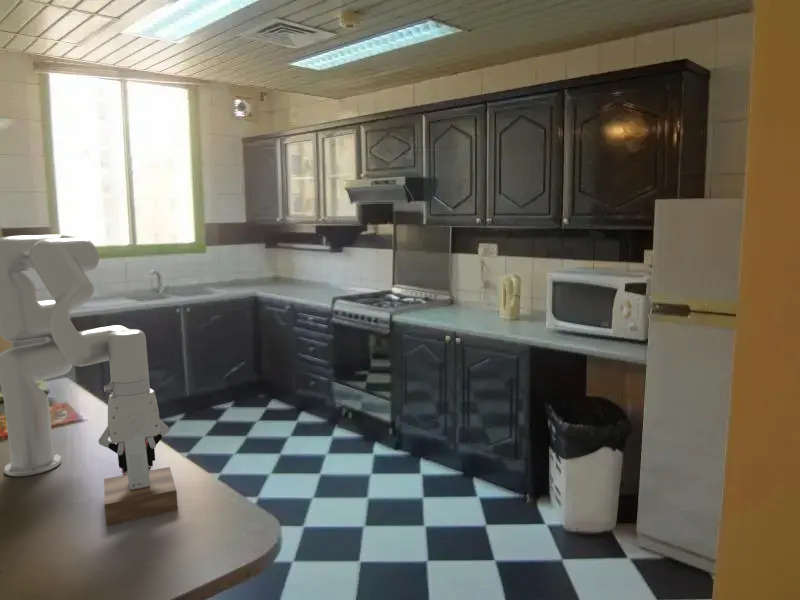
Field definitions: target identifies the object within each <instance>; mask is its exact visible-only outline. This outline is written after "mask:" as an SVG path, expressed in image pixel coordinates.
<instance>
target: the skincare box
mask: <svg viewBox="0 0 800 600" xmlns="http://www.w3.org/2000/svg"><path fill="white" fill-rule="evenodd" d="M124 443H125V453H126V462H127V472H128V480H129V488H130V489H139V488H144V487H148V486H150V478H149V471H150V470H149V468H148V460H147V451H146V444H145V434H138V435H136V436H134V438H133V440H130V441H126V442H124Z"/></svg>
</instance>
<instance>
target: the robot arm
mask: <svg viewBox="0 0 800 600" xmlns="http://www.w3.org/2000/svg"><path fill="white" fill-rule="evenodd" d="M99 257H100V256H99V252H98V249H97V248H96V246H95V244H94V243H92V241H91V240H89V239H87V238H85V237H82V236H75V235H74V236H72V235H66V234H33V235H32V234H29V235H28V234H27V235H26V234H25V235H11V236H10V235H9V236H3V237H0V336H1V337H2V339H3V340H4V341H7V342H10V343H20V342H27V341H28V342H29V341H33V340H39V339H44V338H45V341H43V342H38V343H30V344H26V345H25V344H24V345H20V346H15V347H12V348H9V349H6V350H4V351H2V352H1V353H0V388H1V392H2V393H1V394H2V397H3V398H2V399H3V405H4V412H5V421H6V429H7V439H8V448H9V457H10V462H9V463H7V464H6V465H5V466H4V469H3V470H4V474H5V475H8V476H10V477H27V476H28V477H29V476H33V475H38V474H43V473H45V472H48V471H51V470H52V469H55V468H57V467H58V466H59V465H60V464H61V463H62V457H61V455H60V454H58V453H55V451H54V441H53V434H52V433H53V432H52V431H53V430H52V422H51V414H50V404H49V403H50V402H49V399H48V398H49V397H48V396H47V394H46V393H45V391H44V390H43V389H42V388H41V387H39V386H38V385H37V383H38V382H40V381H44V380H48V379H52V378H57V377H61V376H63V375H66V374H68V373H69V372H70V371H71V369H72V368H73V366H75V367H86V366H91V365H95V364H99V363H103V362H108V361H109V371H110V372H109V374H110V382H109V384H107V385H105V384H104V385H103V389H104V393H105V392H109V393H111V394H109V395H108V402H107V426H106V429H105V430H103V433H102V434H101V436H100V437H99V438H98V440H97V441H98V444H99V445H100V446H102V447H105V448H107V449H109V450H111V451H112V452H114V453H115V454H117V460H118V468H119V469H121V468H122V469H123V471H124V472H127V462H126V454H125V451H124V446H125V443H124V442H126V441H130V440H133V438H134V436H136V435H138V434H145V438H146V439H147V441H148V444H147V446H146V451H147V460H148V465H149V466H150V467H151V468H152V467H153V466H154V461H156V453H155V451H156V450H155V448H156V446H157V445H158V444H159V442H160V441H161V440H162V438H164V436H166V435H167V434H168V433H169V432H170V428H169V426H168V425H167V424H166V423H164V421H163V420H162V419H160V411H159V405H158V402H157V401H158V400H157V397H156V396H157V395H156V393H155V390H154V389H152V388H151V387H150V375H149V374H150V373H149V364H148V363H149V361H148V360H149V359H148V348H147V336H146V334H145V332H144V331H143V330H141V329H136V328H135V329H133V328H127V327H126V326H124V325H120V324H119V325H118V324H116V325H109V326H108V325H107V326H102V327H96V328H90V329H83V330H80V331H79V330H77V329H76V327H75V326H74V324H73V322H72V321H71V317H70V313H72V312H73V311H75V310H77V309H78V308H80V307H82V306H83V305H85V303H87V302H88V301H89V300H90V299H91V298H92V296H93V295H94V291H95V288H94V285H93V283H92V281H91V280H90V279H89V277H88V276H87V274H86V273H89V272H92V271H94V270H95V269H97V266H98V265H99V261H100V258H99ZM27 271H35V272H36V274H37V275H38V276H39V278H40V279H41V281H42V283H43V285H44V286H45V287H46V290H47V291H48V293H49V295H50V296H51V298H52V299H46V300H45V299H44V300H38V299H37V289H36V288H37V287H36V285H35V283H34V281H33V279H32V278H31V277H30V275H28V273H26V272H27ZM109 439H110V440H109ZM122 469H121V470H122Z"/></svg>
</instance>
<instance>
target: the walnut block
mask: <svg viewBox="0 0 800 600" xmlns="http://www.w3.org/2000/svg"><path fill="white" fill-rule="evenodd" d="M149 478H150V486H148V487H144V488H139V489H130V488H129V480H128V475H125V474H123V475H119V476H118V475H117V476H114V477H107V478H104V479H103V484H104V485H103V489H104V491H103V492H104V513H105V524H106V526H111V525H115V524H120V523H125V522H129V521H134V520H139V519H144V518H148V516H149V517H152V516H157V515H161V514H162V515H163V514H166V512H167V513H170V512H171V511H172V512H175V510H176V511H178V510H179V507H178V506H179V505H178V495H177V493H178V492H177V491H178V490H177V488H176V484H175V481H174V480H175V479H174V478H173V473H172V471H171V467H170V466H168V467H161V468H156V469H150V470H149Z"/></svg>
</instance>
